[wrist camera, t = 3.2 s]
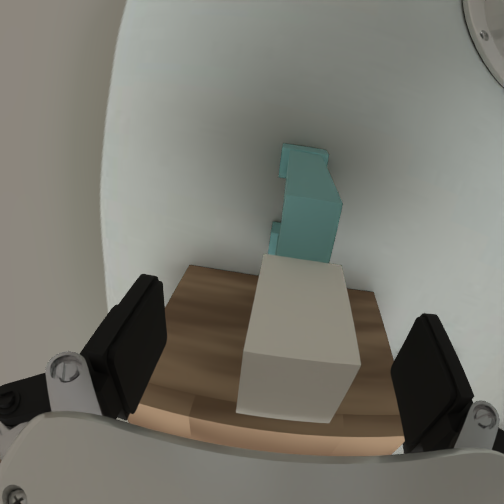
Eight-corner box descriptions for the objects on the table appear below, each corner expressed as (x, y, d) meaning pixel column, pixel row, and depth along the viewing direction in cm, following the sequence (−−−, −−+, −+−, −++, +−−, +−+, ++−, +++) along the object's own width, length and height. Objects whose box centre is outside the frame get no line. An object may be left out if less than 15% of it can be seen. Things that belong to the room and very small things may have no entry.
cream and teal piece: (283, 143, 20) (253, 263, 6) (325, 149, 20) (397, 284, 6) (269, 244, 24) (232, 443, 10) (307, 250, 24) (310, 453, 10)
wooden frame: (189, 264, 26) (117, 396, 14) (373, 292, 25) (410, 435, 13) (194, 388, 35) (162, 488, 23) (323, 407, 34) (321, 511, 22)
